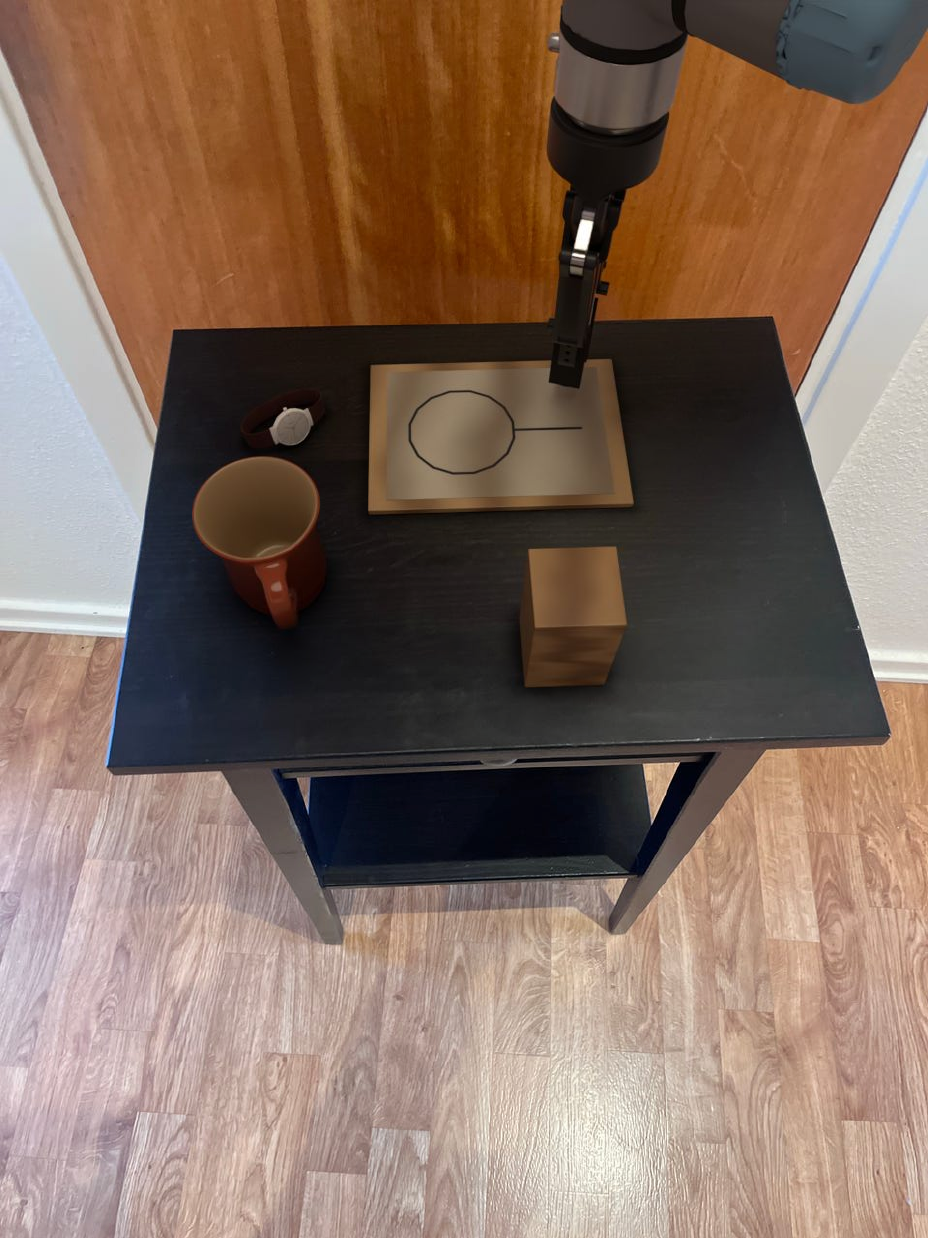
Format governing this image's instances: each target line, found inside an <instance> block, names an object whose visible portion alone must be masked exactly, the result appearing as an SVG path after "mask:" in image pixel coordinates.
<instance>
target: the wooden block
mask: <svg viewBox="0 0 928 1238" xmlns="http://www.w3.org/2000/svg"><path fill="white" fill-rule="evenodd" d="M617 548H618V547H617V546H588V547H587V546H586V547H583V546H582V547H552V548H528V550H527V556H526V564H525V572H524V578H523V579H524V580H523V587H522V594H521V600H520V610H519V618H518V619H519V628H520V629H519V631H520V632H519V633H520V644H521V659H522V672H523V673H522V674H523V685H524V688H546V687H547V688H548V687H575V686H577V687H578V686H604V685H605V683H606V681H607V679H608V677H609V673H610V670H611V668H612V666H613V662H614V660H615V657H616V655H617V653H618V650H619V647H620V644H621V641H622V639H623V637H624V634H625V630H626V628H627V625H628V620H627V614H626V607H625V600H624V593H623V585H622V577H621V569H620V565H619V557H618V549H617Z"/></svg>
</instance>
